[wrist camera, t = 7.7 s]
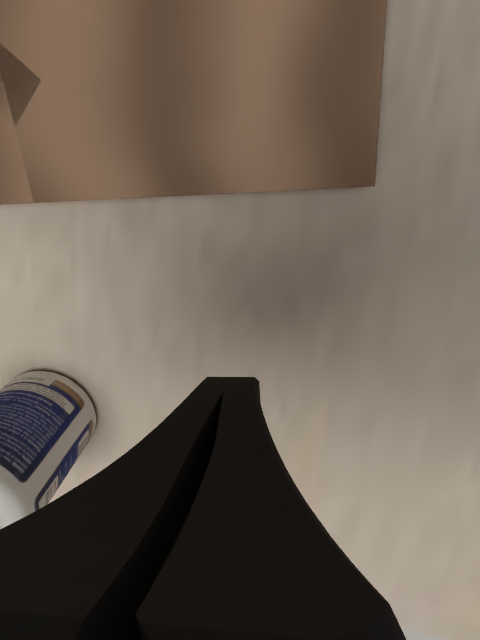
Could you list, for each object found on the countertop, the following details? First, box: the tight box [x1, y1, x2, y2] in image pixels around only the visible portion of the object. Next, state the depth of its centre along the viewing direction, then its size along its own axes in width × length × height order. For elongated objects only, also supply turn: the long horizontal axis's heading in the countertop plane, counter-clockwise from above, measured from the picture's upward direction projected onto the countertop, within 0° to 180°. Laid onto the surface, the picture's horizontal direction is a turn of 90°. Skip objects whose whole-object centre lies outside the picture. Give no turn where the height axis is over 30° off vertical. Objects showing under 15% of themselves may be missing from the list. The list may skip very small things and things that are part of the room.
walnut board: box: [0, 0, 387, 205], centre depth 15 cm, size 19×13×2 cm
